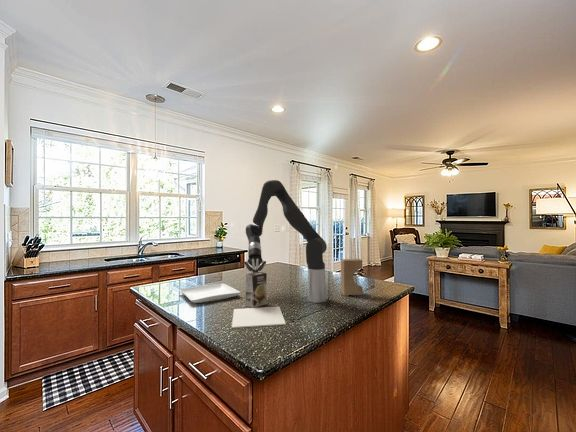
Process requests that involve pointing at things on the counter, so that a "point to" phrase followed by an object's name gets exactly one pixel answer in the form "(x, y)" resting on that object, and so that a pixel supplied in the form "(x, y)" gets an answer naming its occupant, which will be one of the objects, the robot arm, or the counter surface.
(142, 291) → the counter surface
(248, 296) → the coffee box
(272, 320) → the mat
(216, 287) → the square plate
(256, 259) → the robot arm
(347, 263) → the decorative block
